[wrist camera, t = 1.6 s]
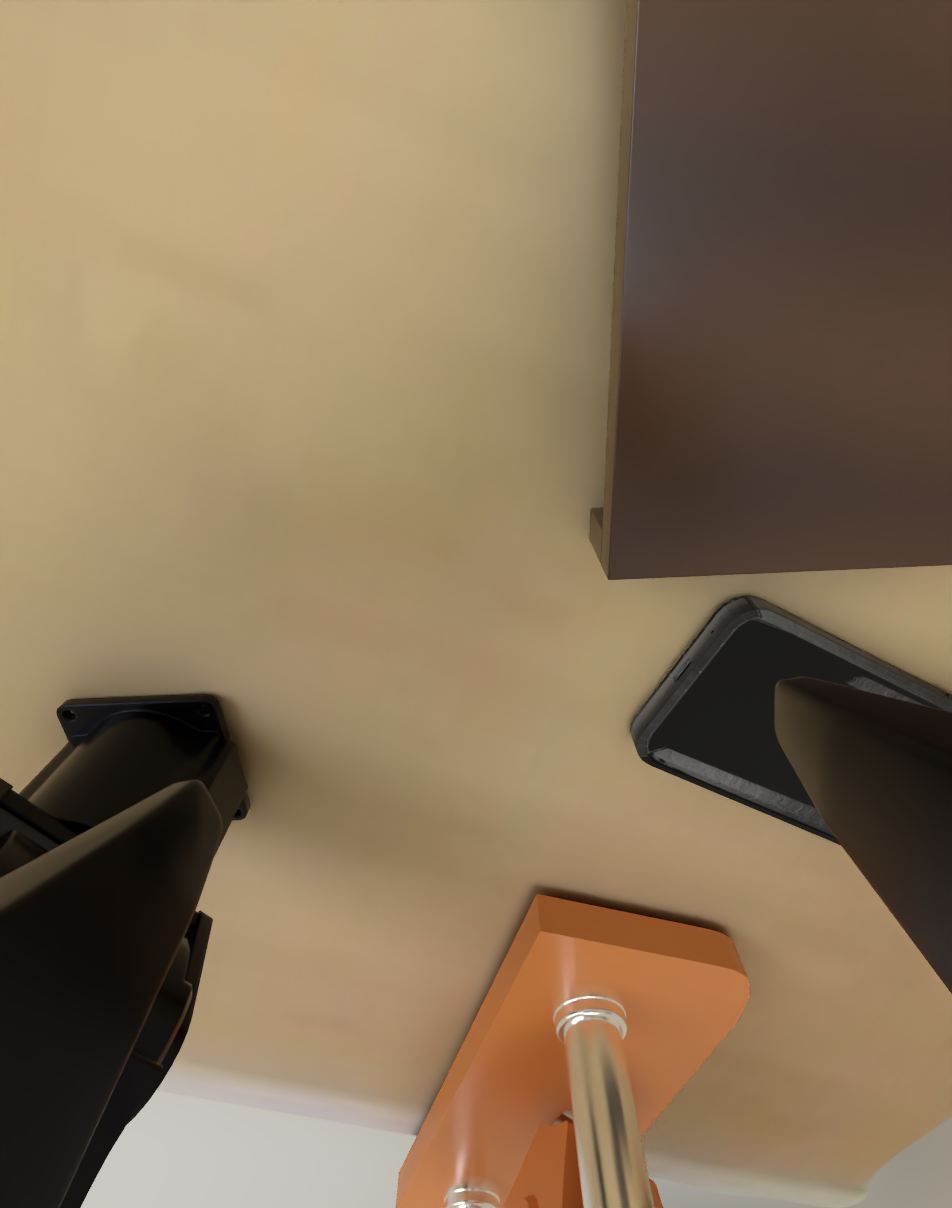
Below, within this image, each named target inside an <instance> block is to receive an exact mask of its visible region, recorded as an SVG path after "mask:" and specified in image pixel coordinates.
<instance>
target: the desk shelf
mask: <svg viewBox="0 0 952 1208" xmlns="http://www.w3.org/2000/svg"><path fill="white" fill-rule="evenodd" d="M589 539H590V542H591V544H592V546H593V548H594V550H595V552H596V554H597V556H598V559H599V561H600V563H601V566H602V568H603V570H604V572H605V574H606V576H607V578H608V580H619V579H642V578H664V577H687V576H710V575H733V574H755V573H778V572H801V571H824V570H847V569H869V568H892V567H915V566H938V565H952V0H627V3H626V25H625V47H624V69H623V91H622V113H621V135H620V157H619V179H618V201H617V223H616V245H615V267H614V289H613V312H612V334H611V356H610V378H609V400H608V422H607V444H606V466H605V488H604V508H592V509H591V510H590V535H589Z"/></svg>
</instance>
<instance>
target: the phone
mask: <svg viewBox="0 0 952 1208" xmlns="http://www.w3.org/2000/svg"><path fill="white" fill-rule="evenodd" d="M802 676H803V677H811V678H815V679H819V680H823V681H827V682H831V683H835V684H839V685H843V686H847V687H852V688H856V689H860V690H864V691H868V692H872V693H876V694H880V695H884V696H888V697H892V698H896V699H900V700H904V701H909V702H913V703H917V704H921V705H925V706H929V707H933V708H937V709H941V710H945V711H949V712H952V695H951V694H949V693H946V692H944V691H942V690H940V689H938V688H936V687H934V686H932V685H930V684H928V683H926V682H924V681H922V680H920V679H918V678H916V677H914V676H912V675H910V674H908V673H906V672H904V671H902V670H900V669H898V668H896V667H894V666H892V665H891V664H889V663H887V662H885V661H883V660H881V659H879V658H877V657H875V656H873V655H871V654H869V653H867V652H865V651H863V650H861V649H859V648H857V647H855V646H853V645H851V644H849V643H847V642H845V641H843V640H841V639H839V638H837V637H835V636H833V635H831V634H829V633H827V632H825V631H823V630H821V629H819V628H817V627H815V626H813V625H811V624H809V623H807V622H806V621H804V620H802V619H800V618H798V617H796V616H794V615H792V614H790V613H788V612H786V611H784V610H782V609H780V608H778V607H776V606H774V605H772V604H770V603H768V602H766V601H764V600H762V599H759V598H756V597H753V596H742V597H739V598H735V599H732V600H730V601H729V602H727V603H725V604H723V605H722V606H721V607H720V608H719V609H718V610H717V611H716V612H715V614H714V615H713V616H712V618H711V619H710V620H709V622H708V623H707V624H706V625H705V627H704V628H703V629H702V631H701V632H700V633H699V635H698V636H697V637H696V638H695V640H694V641H693V642H692V644H691V645H690V646H689V648H688V649H687V650H686V651H685V653H684V654H683V655H682V657H681V658H680V659H679V661H678V662H677V663H676V664H675V666H674V667H673V668H672V670H671V671H670V672H669V674H668V675H667V676H666V677H665V679H664V680H663V681H662V683H661V684H660V685H659V687H658V688H657V689H656V690H655V692H654V693H653V694H652V696H651V697H650V698H649V700H648V701H647V702H646V703H645V705H644V706H643V707H642V709H641V710H640V711H639V713H638V714H637V715H636V717H635V718H634V720H633V722H632V724H631V730H630V731H631V735H632V738H633V741H634V744H635V747H636V750H637V752H638V755H639V756H640V758H641V759H642V760H643V761H644V762H646V763H647V764H649V765H651V766H653V767H656V768H658V769H660V770H663V771H665V772H668V773H670V774H672V775H675V776H677V777H680V778H682V779H684V780H687V781H689V782H691V783H694V784H696V785H699V786H701V787H703V788H706V789H708V790H711V791H713V792H715V793H718V794H720V795H722V796H725V797H727V798H730V799H732V800H734V801H737V802H739V803H742V804H744V805H746V806H749V807H751V808H753V809H756V810H758V811H761V812H763V813H765V814H768V815H770V816H773V817H775V818H777V819H780V820H782V821H784V822H787V823H789V824H792V825H794V826H796V827H799V828H801V829H804V830H806V831H808V832H811V833H813V834H815V835H818V836H820V837H823V838H825V839H827V840H830V841H832V842H835V843H837V844H839V845H841V844H840V843H839V841H838V840H837V839H836V837H835V836H834V835H833V833H832V832H831V830H830V829H829V828H828V826H827V825H826V823H825V822H824V820H823V819H822V817H821V815H820V814H819V812H818V810H817V809H816V807H815V805H814V804H813V802H812V800H811V798H810V797H809V795H808V793H807V791H806V789H805V788H804V786H803V784H802V782H801V781H800V779H799V777H798V775H797V774H796V772H795V770H794V768H793V767H792V765H791V763H790V761H789V760H788V758H787V756H786V754H785V753H784V751H783V749H782V747H781V746H780V744H779V742H778V739H777V736H776V732H775V725H774V714H775V687H776V684H777V682H778V681H780V680H784V679H790V678H796V677H802Z"/></svg>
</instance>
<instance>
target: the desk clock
mask: <svg viewBox="0 0 952 1208" xmlns="http://www.w3.org/2000/svg"><path fill="white" fill-rule="evenodd" d="M749 996H750V990H749V982H748V977H747V974H746V972H745V969H744V967H743V964H742V962H741V959H740V957H739V954H738V952H737V949H736V947H735V944H734V942H733V940H732V939H730V938H729V937H727V936H726V935H724V934H723V933H720V932H717V931H713V930H710V929H705V928H701V927H696V926H691V925H686V924H681V923H677V922H672V921H667V920H662V919H657V918H652V917H647V916H642V915H637V914H633V913H628V912H623V911H618V910H613V909H608V908H603V907H598V906H594V905H589V904H584V903H579V902H574V901H569V900H564V899H559V898H554V897H550V896H545V895H540V894H536V896H535V899H534V901H533V903H532V905H531V907H530V909H529V911H528V913H527V915H526V917H525V919H524V921H523V923H522V925H521V927H520V929H519V931H518V933H517V935H516V937H515V939H514V941H513V943H512V945H511V947H510V949H509V951H508V953H507V955H506V957H505V959H504V961H503V963H502V965H501V967H500V969H499V971H498V973H497V975H496V977H495V979H494V981H493V984H492V986H491V988H490V990H489V992H488V994H487V996H486V998H485V1000H484V1002H483V1004H482V1006H481V1008H480V1010H479V1012H478V1014H477V1016H476V1018H475V1020H474V1022H473V1024H472V1026H471V1028H470V1030H469V1032H468V1034H467V1036H466V1038H465V1040H464V1042H463V1044H462V1046H461V1048H460V1050H459V1052H458V1054H457V1056H456V1058H455V1060H454V1062H453V1064H452V1067H451V1069H450V1071H449V1073H448V1075H447V1077H446V1079H445V1081H444V1083H443V1085H442V1087H441V1089H440V1091H439V1093H438V1095H437V1097H436V1099H435V1101H434V1103H433V1105H432V1107H431V1109H430V1111H429V1113H428V1115H427V1117H426V1119H425V1121H424V1123H423V1125H422V1127H421V1129H420V1131H419V1133H418V1135H417V1137H416V1139H415V1141H414V1143H413V1145H412V1148H411V1149H410V1152H409V1154H408V1156H407V1158H406V1160H405V1162H404V1164H403V1166H402V1168H401V1170H400V1172H399V1179H398V1189H397V1199H396V1208H663V1206H662V1203H661V1200H660V1197H659V1193H658V1190H657V1187H656V1184H655V1183H654V1181H652V1180H651V1179H649V1177H648V1171H647V1166H646V1161H645V1156H644V1151H643V1145H642V1140H641V1136H642V1135H643V1134H644V1133H645V1131H646V1130H647V1129H648V1128H649V1127H650V1125H651V1124H652V1123H653V1122H654V1121H655V1119H656V1118H657V1117H658V1116H659V1115H660V1113H661V1112H662V1111H663V1110H664V1109H665V1108H666V1106H667V1105H668V1104H669V1103H670V1102H671V1100H672V1099H673V1098H674V1097H675V1096H676V1094H677V1093H678V1092H679V1091H680V1090H681V1088H682V1087H683V1086H684V1085H685V1084H686V1082H687V1081H688V1080H689V1079H690V1078H691V1077H692V1075H693V1074H694V1073H695V1072H696V1071H697V1069H698V1068H699V1067H700V1066H701V1065H702V1063H703V1062H704V1061H705V1060H706V1059H707V1057H708V1056H709V1055H710V1054H711V1053H712V1051H713V1050H714V1049H715V1048H716V1047H717V1046H718V1044H719V1043H720V1042H721V1041H722V1040H723V1038H724V1037H725V1036H726V1035H727V1034H728V1032H729V1031H730V1030H731V1029H732V1028H733V1026H734V1025H735V1024H736V1023H737V1022H738V1020H739V1019H740V1017H741V1014H742V1012H743V1010H744V1007H745V1005H746V1003H747V1000H748V998H749Z"/></svg>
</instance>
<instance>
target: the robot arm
mask: <svg viewBox="0 0 952 1208" xmlns="http://www.w3.org/2000/svg"><path fill="white" fill-rule="evenodd" d="M202 705H205V706H207V707H209V709H210V710H209V709H205V708H204V707H203V706H202ZM71 711H72V712H74V714H73V713H72V712H71ZM57 716H58V719H59V721H60V723H61V725H62V728H63V730H64V732H65V734H66V736H67V739H68V741H69V742H68V743H67V744H66V745H65V747H64V748H63V749H62V750H61V751H60V752H59V753H58V754H57V755H56V756H55V757H54V758H53V759H52V760H51V761H50V762H49V763H48V764H47V765H46V766H45V767H44V768H43V770H42V771H41V772H40V773H39V774H38V775H37V776H36V777H35V778H34V779H33V780H32V781H31V782H30V783H29V784H28V785H27V786H26V787H25V788H24V789H23V790H22V792H21V793H20V794H18V793H16V792H15V791H13V790H11V789H12V788H13V786H11V785H10V784H8V783H7V782H5V781H4V780H2V779H1V778H0V1208H80V1207H81V1205H82V1203H83V1201H84V1199H85V1197H86V1195H87V1193H88V1191H89V1189H90V1187H91V1185H92V1184H93V1182H94V1180H95V1178H96V1176H97V1174H98V1172H99V1170H100V1169H101V1167H102V1165H103V1163H104V1161H105V1159H106V1157H107V1156H108V1154H109V1152H110V1151H111V1149H112V1147H113V1146H114V1144H115V1142H116V1141H117V1139H118V1138H119V1136H120V1134H121V1133H122V1131H123V1130H124V1127H125V1126H126V1125H127V1124H128V1123H129V1122H130V1121H131V1120H132V1119H133V1118H134V1117H135V1116H136V1115H137V1113H139V1111H140V1110H141V1109H142V1108H143V1107H144V1105H145V1104H146V1103H147V1102H148V1101H149V1099H150V1098H151V1097H152V1095H153V1093H154V1092H155V1091H156V1089H157V1088H158V1087H159V1085H160V1084H161V1082H162V1081H163V1079H164V1077H165V1076H166V1074H167V1072H168V1071H169V1069H170V1067H171V1066H172V1064H173V1062H174V1060H175V1058H176V1056H177V1054H178V1052H179V1050H180V1048H181V1046H182V1044H183V1041H184V1039H185V1036H186V1034H187V1032H188V1029H189V1025H190V1022H191V1018H192V1015H193V1010H194V1005H195V1001H196V996H197V991H198V987H199V982H200V977H201V973H202V968H203V963H204V959H205V954H206V950H207V945H208V940H209V936H210V931H211V926H212V922H213V919H212V918H211V917H209V916H208V915H206V914H205V913H203V912H202V911H199V912H196V911H195V909H196V907H197V904H198V901H199V899H200V896H201V893H202V890H203V887H204V884H205V881H206V878H207V875H208V872H209V870H210V867H211V864H212V861H213V858H214V856H215V854H216V852H217V850H218V848H219V846H220V844H221V842H222V840H223V838H224V836H225V834H226V831H227V829H228V827H229V825H230V823H231V821H232V820H242V819H244V818H245V817H246V815H247V813H248V811H249V809H250V803H249V800H248V797H247V793H246V791H247V783H246V780H245V776H244V773H243V769H242V766H241V763H240V759H239V756H238V752H237V749H236V746H235V744H234V743H233V742H232V740H231V739H230V736H229V733H228V729H227V726H226V722H225V719H224V716H223V712H222V709H221V706H220V703H219V701H218V700H217V699H216V698H215V697H214V696H211V695H208V694H195V695H170V696H144V697H118V698H93V699H70V700H67V701H65V702H64V703H63V704H62V705H61V706H60V707H59V708H58V709H57ZM774 725H775V732H776V736H777V739H778V742H779V744H780V746H781V747H782V749H783V751H784V753H785V754H786V756H787V758H788V760H789V761H790V763H791V765H792V767H793V768H794V770H795V772H796V774H797V775H798V777H799V779H800V781H801V782H802V784H803V786H804V788H805V789H806V791H807V793H808V795H809V797H810V798H811V800H812V802H813V804H814V805H815V807H816V809H817V810H818V812H819V814H820V815H821V817H822V819H823V820H824V822H825V823H826V825H827V826H828V828H829V829H830V830H831V832H832V833H833V835H834V836H835V837H836V839H837V840H838V841H839V843H840V844H841V846H842V847H843V848H844V850H845V851H846V852H847V854H848V855H849V856H850V858H851V859H852V860H853V862H854V863H855V864H856V866H857V867H858V868H859V870H860V871H861V872H862V874H863V875H864V876H865V878H866V879H867V880H868V882H869V883H870V885H871V886H872V887H873V889H874V890H875V891H876V893H877V894H878V895H879V897H880V898H881V899H882V901H883V902H884V903H885V905H886V906H887V907H888V909H889V910H890V911H891V913H892V914H893V915H894V917H895V918H896V919H897V921H898V922H899V924H900V925H901V926H902V928H903V929H904V930H905V932H906V933H907V934H908V936H909V937H910V938H911V940H912V941H913V942H914V944H915V945H916V946H917V948H918V949H919V950H920V952H921V953H922V954H923V956H924V957H925V958H926V960H927V961H928V963H929V964H930V965H931V967H932V968H933V969H934V971H935V972H936V973H937V975H938V976H939V977H940V979H941V980H942V981H943V983H944V984H945V985H946V987H947V988H948V989H949V991H950V992H951V993H952V712H949V711H945V710H941V709H937V708H933V707H929V706H925V705H921V704H917V703H913V702H909V701H904V700H900V699H896V698H892V697H888V696H884V695H880V694H876V693H872V692H868V691H864V690H860V689H856V688H852V687H847V686H843V685H839V684H835V683H831V682H827V681H823V680H819V679H815V678H811V677H803V676H802V677H796V678H790V679H784V680H780V681H778V682H777V684H776V687H775V714H774Z"/></svg>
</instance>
